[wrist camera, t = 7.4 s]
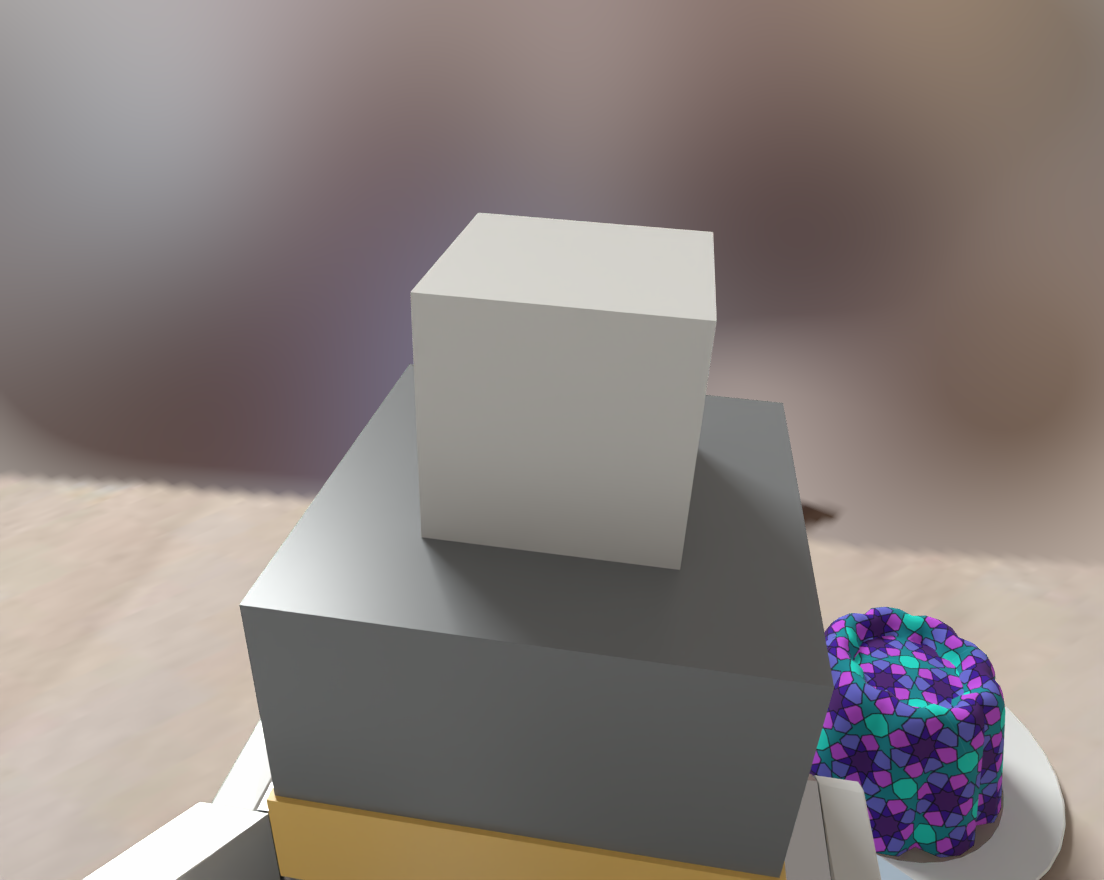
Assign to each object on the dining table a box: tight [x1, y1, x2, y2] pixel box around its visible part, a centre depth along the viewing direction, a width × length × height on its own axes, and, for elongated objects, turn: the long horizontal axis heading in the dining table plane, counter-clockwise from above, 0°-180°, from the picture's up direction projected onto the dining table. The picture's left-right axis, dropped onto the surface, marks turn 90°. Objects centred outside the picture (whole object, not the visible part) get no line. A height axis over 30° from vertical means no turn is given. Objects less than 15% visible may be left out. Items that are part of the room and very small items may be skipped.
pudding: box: [809, 607, 1066, 880], centre depth 30 cm, size 12×12×5 cm
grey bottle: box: [240, 213, 834, 880], centre depth 10 cm, size 4×4×14 cm
